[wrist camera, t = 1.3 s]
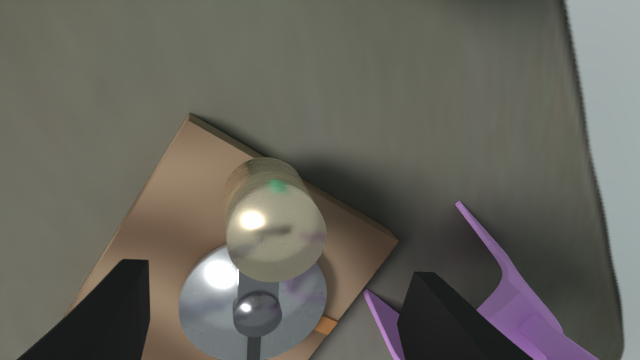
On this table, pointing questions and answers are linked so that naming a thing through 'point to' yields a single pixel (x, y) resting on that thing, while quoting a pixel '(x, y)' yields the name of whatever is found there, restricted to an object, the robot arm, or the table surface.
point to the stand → (224, 239)
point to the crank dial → (258, 268)
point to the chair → (499, 312)
